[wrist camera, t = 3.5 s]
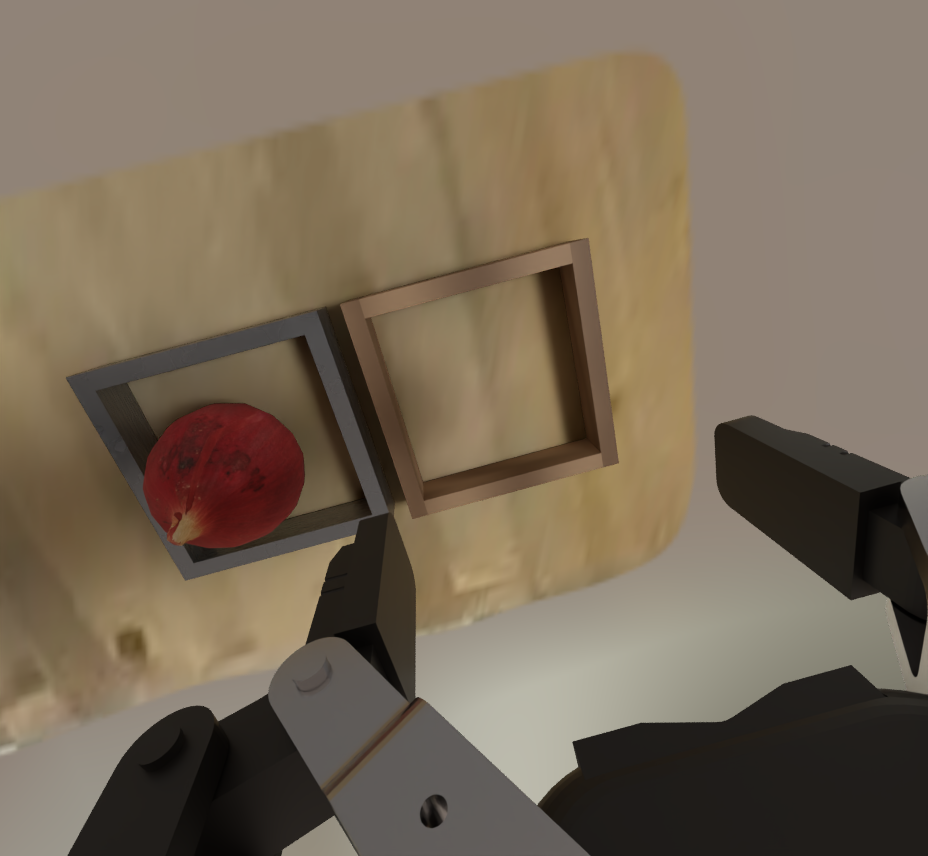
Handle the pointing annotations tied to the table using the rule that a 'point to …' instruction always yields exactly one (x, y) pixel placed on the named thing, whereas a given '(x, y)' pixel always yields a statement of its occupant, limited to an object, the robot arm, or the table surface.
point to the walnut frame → (521, 469)
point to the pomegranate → (223, 476)
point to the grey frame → (120, 411)
